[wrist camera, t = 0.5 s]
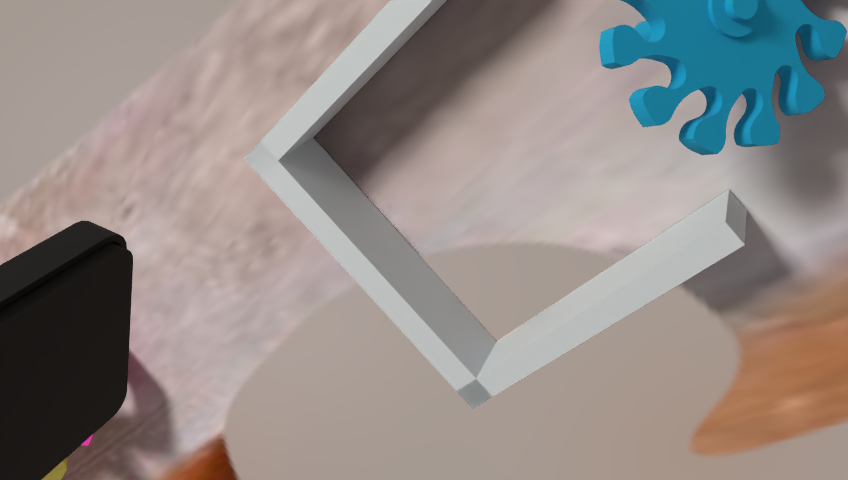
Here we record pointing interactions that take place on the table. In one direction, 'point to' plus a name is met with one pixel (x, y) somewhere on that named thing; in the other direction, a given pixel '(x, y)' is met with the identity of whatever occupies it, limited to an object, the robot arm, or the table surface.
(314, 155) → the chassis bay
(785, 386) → the table surface
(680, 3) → the gear
